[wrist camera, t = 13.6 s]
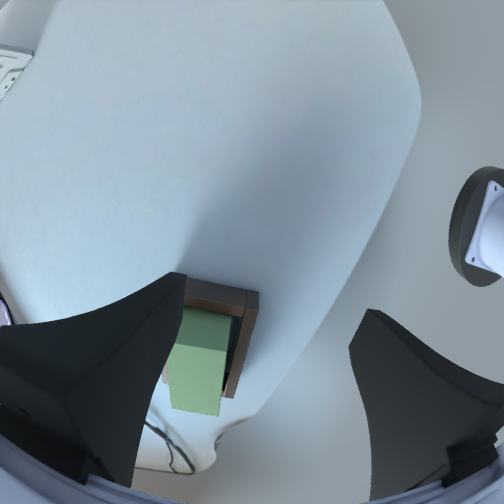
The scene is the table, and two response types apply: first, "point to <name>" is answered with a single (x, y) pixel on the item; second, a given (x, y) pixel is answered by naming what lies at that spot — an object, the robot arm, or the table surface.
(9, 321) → the mobile phone
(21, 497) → the robot arm
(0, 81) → the cassette
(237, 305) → the mounting base
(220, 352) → the block
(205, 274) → the table surface
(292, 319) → the table surface
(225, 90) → the table surface
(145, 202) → the table surface
